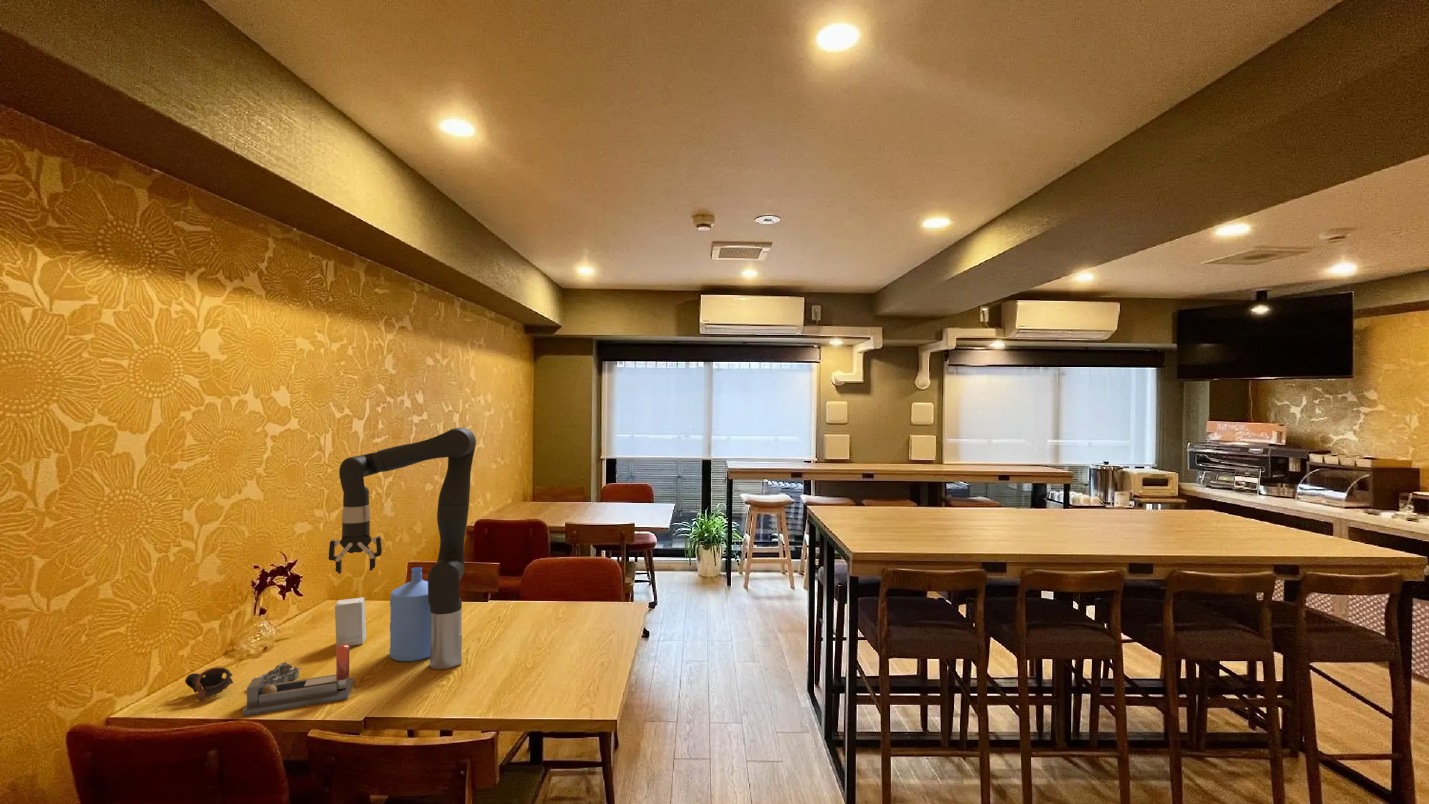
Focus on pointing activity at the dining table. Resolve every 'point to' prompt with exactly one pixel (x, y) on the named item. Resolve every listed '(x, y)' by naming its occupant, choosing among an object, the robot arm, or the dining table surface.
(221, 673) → the dark brown hollow piece
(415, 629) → the water jug
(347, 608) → the skincare box
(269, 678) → the grey jagged model
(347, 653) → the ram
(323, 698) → the grey ball track
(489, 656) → the dining table surface
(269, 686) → the walnut
